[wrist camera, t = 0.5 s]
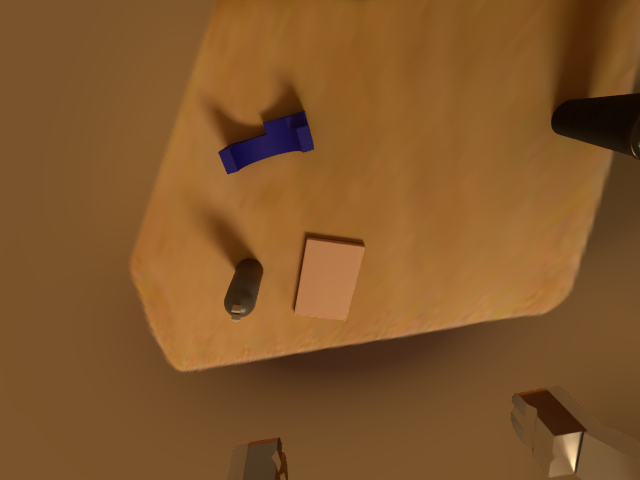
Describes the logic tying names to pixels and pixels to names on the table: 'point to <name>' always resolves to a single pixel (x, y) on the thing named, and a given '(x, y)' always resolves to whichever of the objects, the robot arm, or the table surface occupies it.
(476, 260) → the table surface
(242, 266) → the charger plug
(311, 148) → the blue u-shaped bracket
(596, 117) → the drinking cup
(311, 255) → the board
